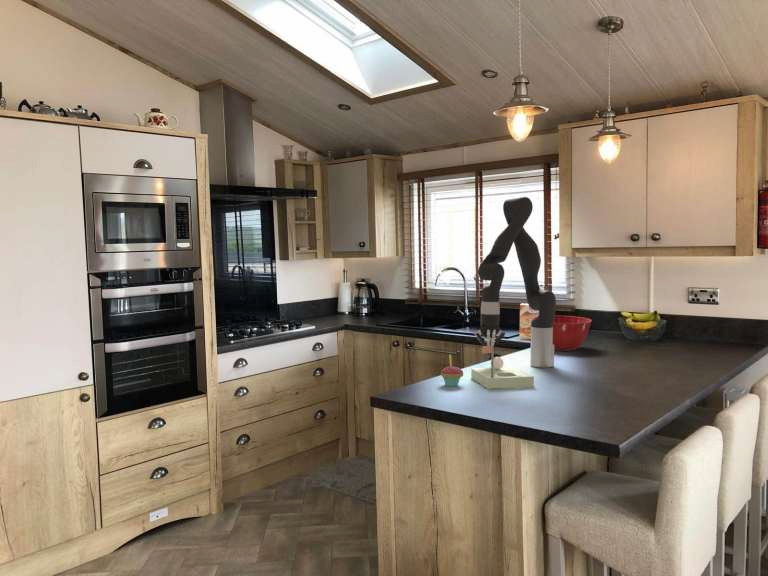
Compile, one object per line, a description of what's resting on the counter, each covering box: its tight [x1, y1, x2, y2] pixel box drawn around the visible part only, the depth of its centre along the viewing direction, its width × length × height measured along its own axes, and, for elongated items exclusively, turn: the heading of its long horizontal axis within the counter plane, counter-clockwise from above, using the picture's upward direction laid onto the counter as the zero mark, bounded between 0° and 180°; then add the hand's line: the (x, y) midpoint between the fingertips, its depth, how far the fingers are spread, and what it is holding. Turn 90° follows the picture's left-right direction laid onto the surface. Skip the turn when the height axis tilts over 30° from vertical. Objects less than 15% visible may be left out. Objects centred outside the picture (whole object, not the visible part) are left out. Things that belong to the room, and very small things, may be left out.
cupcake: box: [440, 354, 464, 387], centre depth 237 cm, size 9×8×12 cm
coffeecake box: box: [519, 303, 539, 340], centre depth 350 cm, size 15×7×20 cm, turn 73°
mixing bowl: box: [533, 315, 592, 352], centre depth 317 cm, size 28×28×16 cm
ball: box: [493, 356, 504, 370], centre depth 246 cm, size 5×5×5 cm
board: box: [470, 345, 535, 390], centre depth 241 cm, size 20×19×16 cm
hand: (489, 355), depth 254 cm, fingers closed
